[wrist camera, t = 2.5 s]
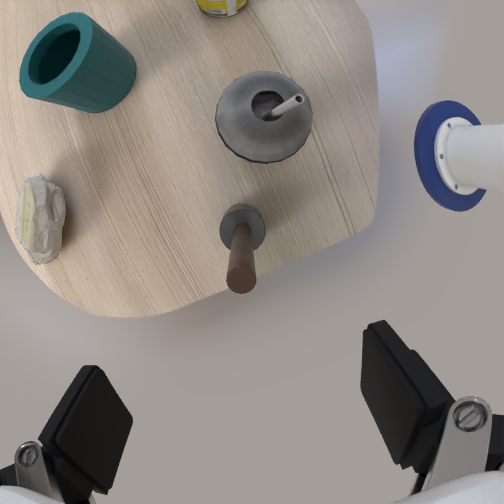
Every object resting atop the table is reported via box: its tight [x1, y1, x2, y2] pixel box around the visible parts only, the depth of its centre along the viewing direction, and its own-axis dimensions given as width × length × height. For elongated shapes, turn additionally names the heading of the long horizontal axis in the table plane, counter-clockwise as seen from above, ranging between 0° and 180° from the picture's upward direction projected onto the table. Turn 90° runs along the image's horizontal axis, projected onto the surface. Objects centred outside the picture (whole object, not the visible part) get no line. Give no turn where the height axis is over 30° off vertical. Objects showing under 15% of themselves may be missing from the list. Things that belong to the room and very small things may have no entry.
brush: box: [220, 204, 265, 294], centre depth 25 cm, size 5×5×17 cm
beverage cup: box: [215, 71, 313, 164], centre depth 20 cm, size 7×7×20 cm
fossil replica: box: [15, 174, 66, 265], centre depth 28 cm, size 12×8×10 cm
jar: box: [19, 12, 136, 113], centre depth 21 cm, size 10×10×12 cm
